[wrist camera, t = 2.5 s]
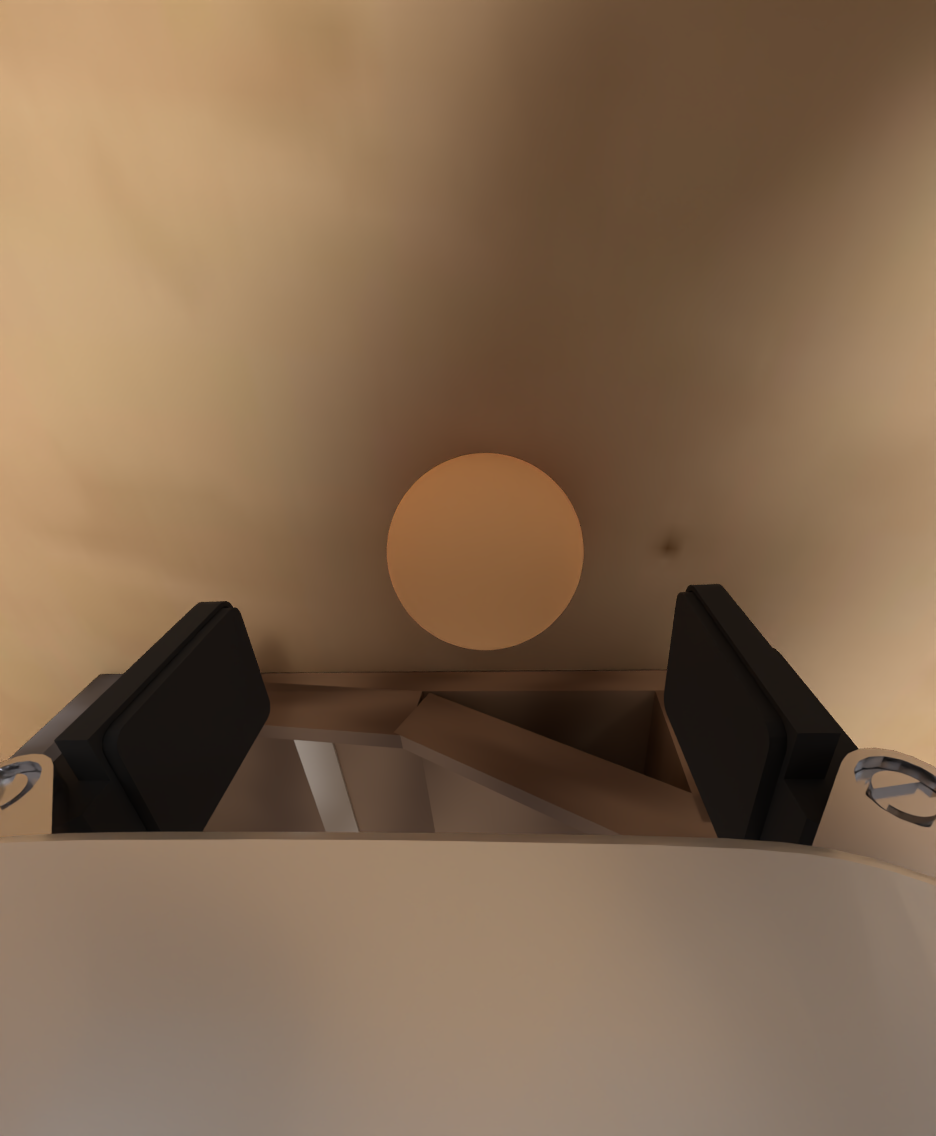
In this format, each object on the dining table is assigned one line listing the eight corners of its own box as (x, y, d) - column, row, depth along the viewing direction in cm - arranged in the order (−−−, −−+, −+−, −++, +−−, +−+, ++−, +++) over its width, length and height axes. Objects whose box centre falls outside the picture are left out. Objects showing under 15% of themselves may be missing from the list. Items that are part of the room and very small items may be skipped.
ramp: (693, 670, 17) (801, 897, 11) (653, 884, 24) (706, 1108, 17) (99, 674, 20) (-104, 862, 13) (209, 868, 26) (108, 1059, 19)
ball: (507, 393, 13) (505, 443, 9) (604, 530, 15) (642, 629, 11) (373, 497, 15) (316, 581, 11) (473, 610, 17) (459, 722, 12)
